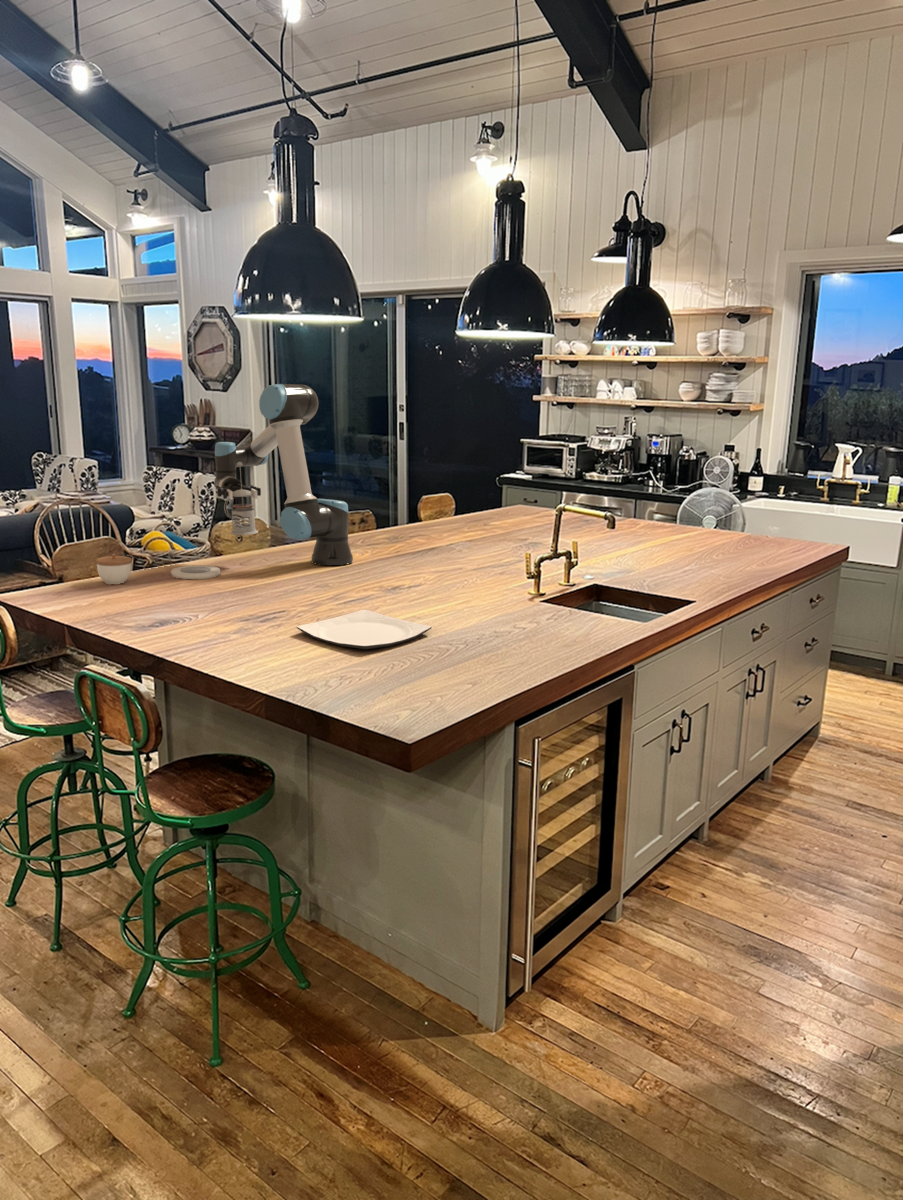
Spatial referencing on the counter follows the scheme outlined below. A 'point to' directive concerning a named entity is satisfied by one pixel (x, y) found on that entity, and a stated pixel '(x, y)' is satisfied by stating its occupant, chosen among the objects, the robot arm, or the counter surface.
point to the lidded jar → (114, 568)
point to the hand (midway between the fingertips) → (243, 495)
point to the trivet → (195, 572)
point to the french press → (242, 513)
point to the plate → (364, 630)
